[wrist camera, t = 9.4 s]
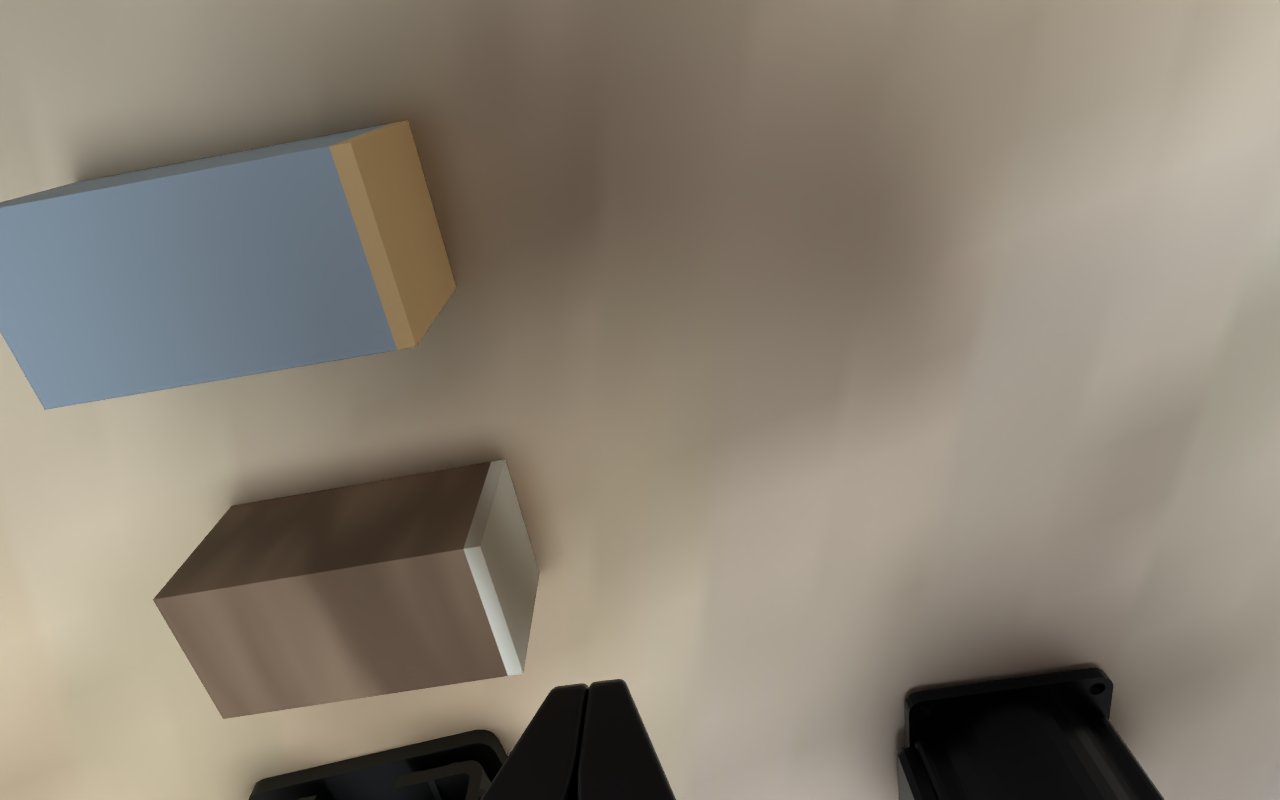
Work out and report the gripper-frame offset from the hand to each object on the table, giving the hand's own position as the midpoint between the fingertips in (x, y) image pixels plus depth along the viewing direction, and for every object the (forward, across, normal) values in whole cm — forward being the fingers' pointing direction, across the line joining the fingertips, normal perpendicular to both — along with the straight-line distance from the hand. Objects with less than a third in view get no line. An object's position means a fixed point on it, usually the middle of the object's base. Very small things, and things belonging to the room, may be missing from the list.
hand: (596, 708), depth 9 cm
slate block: (+10, +4, -4) cm, 11 cm away
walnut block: (+10, +4, +5) cm, 12 cm away
